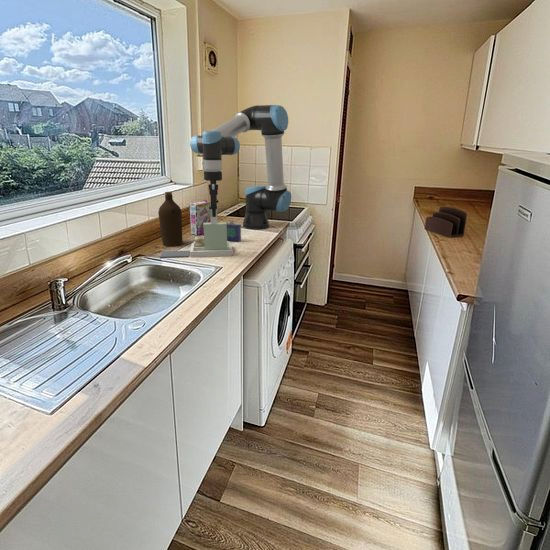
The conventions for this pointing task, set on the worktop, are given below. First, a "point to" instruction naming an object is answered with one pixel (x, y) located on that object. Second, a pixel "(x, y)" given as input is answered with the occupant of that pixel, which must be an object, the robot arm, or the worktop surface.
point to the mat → (174, 254)
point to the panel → (215, 236)
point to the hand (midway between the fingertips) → (214, 220)
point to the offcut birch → (199, 241)
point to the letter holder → (447, 222)
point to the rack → (210, 251)
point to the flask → (233, 232)
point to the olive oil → (170, 222)
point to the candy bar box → (199, 216)
